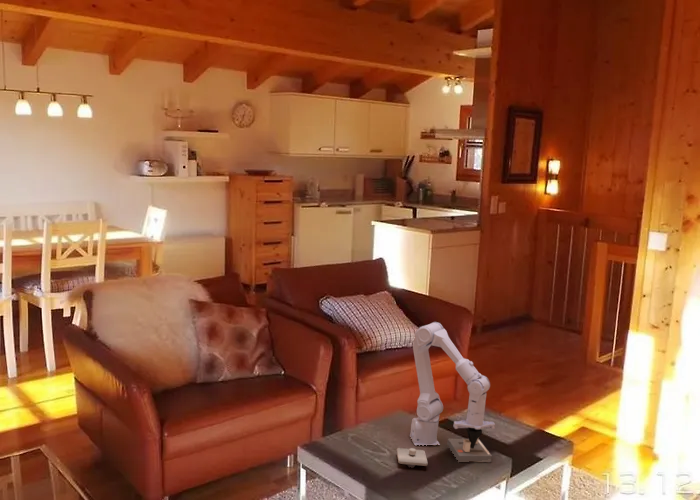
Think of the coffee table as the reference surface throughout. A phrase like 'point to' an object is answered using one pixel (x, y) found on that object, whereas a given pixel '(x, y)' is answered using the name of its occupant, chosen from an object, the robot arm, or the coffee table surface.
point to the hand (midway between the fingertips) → (471, 447)
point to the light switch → (411, 457)
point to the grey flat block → (473, 455)
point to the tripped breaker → (466, 445)
